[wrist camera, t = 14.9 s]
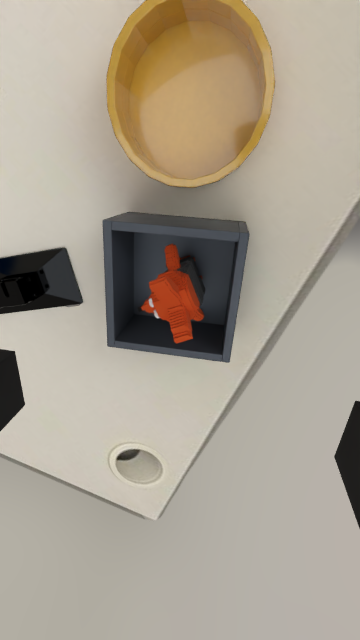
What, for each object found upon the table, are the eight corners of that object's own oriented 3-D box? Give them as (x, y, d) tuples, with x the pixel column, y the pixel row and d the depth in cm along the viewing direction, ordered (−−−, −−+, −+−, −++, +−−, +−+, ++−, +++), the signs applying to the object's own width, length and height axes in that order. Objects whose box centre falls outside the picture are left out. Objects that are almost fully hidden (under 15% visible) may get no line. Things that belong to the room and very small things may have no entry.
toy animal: (143, 250, 35) (103, 282, 24) (188, 232, 33) (167, 257, 22) (171, 312, 37) (146, 367, 26) (214, 298, 36) (206, 350, 25)
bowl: (281, 13, 25) (291, -18, 21) (254, 190, 31) (257, 192, 27) (122, 11, 27) (103, -19, 23) (124, 181, 32) (109, 181, 28)
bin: (245, 221, 32) (249, 233, 26) (229, 329, 38) (229, 363, 31) (128, 211, 34) (102, 220, 27) (128, 317, 39) (107, 346, 32)
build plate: (66, 246, 37) (45, 255, 32) (84, 304, 39) (67, 319, 35) (-24, 262, 39) (-54, 272, 35) (0, 315, 42) (-26, 330, 38)
